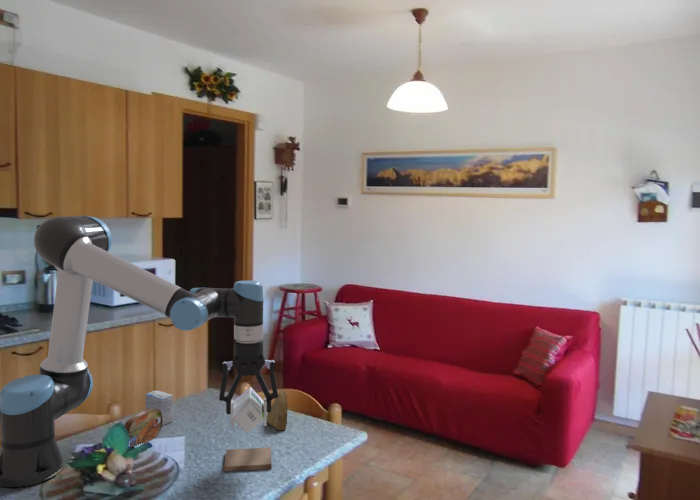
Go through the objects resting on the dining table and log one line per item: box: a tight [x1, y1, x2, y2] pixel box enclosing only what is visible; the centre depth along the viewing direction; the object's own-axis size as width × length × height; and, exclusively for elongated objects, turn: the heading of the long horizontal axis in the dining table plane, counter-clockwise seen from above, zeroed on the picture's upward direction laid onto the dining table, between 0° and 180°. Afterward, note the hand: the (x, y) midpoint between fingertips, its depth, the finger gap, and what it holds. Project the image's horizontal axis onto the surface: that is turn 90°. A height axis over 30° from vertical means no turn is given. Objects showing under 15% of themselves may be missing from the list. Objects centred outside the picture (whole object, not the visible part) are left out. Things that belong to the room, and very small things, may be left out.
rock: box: [267, 390, 288, 431], centre depth 172 cm, size 11×9×10 cm
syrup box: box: [232, 386, 264, 434], centre depth 146 cm, size 6×6×14 cm
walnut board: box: [223, 446, 272, 472], centre depth 148 cm, size 12×10×1 cm
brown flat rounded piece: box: [123, 408, 163, 447], centre depth 158 cm, size 15×3×8 cm, turn 163°
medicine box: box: [145, 390, 174, 426], centre depth 173 cm, size 8×4×9 cm, turn 58°
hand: (248, 424), depth 147 cm, fingers closed on syrup box, 8 cm apart
